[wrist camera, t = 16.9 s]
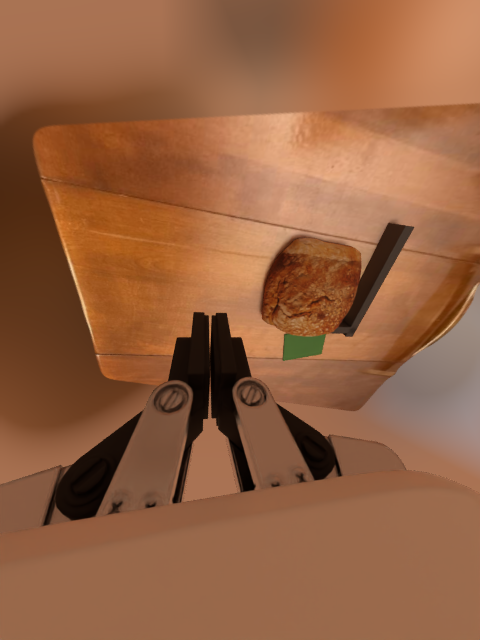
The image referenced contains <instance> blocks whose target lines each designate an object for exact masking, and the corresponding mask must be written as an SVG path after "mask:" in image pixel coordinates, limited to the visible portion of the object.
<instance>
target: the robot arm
mask: <svg viewBox="0 0 480 640" xmlns="http://www.w3.org/2000/svg"><path fill="white" fill-rule="evenodd" d="M210 377H211V411H212V413H211V414H212V418H216V423H217V426H218V429H219V430H220V431H221V432H222V433H223V434H224V435H225V436H226V442H227V447H228V451H229V456H230V460H231V465H232V469H233V473H234V478H235V482H236V487H237V491H238V493H236V494H230V495H223V496H218V497H212V498H206V499H200V500H193V501H187V502H183V499H184V494H185V488H186V484H187V478H188V473H189V467H190V462H191V456H192V451H193V446H194V440H195V439H196V438H197V437H198V436H199V434H200V433H201V432H202V431H203V419H208V406H209V386H210ZM0 640H480V493H478V492H477V491H475V490H472V489H471V488H469V487H467V486H464V485H462V484H460V483H457V482H455V481H452V480H449V479H447V478H444V477H441V476H437V475H434V474H430V473H427V472H420V471H412V470H406V468H405V466H404V464H403V463H402V461H401V460H400V459H399V457H398V455H396V454H395V453H394V452H393V451H392V450H391V449H390V448H389V447H387V446H385V445H384V444H381V443H378V442H374V441H368V440H362V439H355V438H349V437H343V436H336V435H329V436H328V437H327V436H323V435H322V434H321V433H320V432H318V431H317V430H315V429H314V428H312V427H311V426H309V425H308V424H306V423H305V422H304V421H302V420H300V419H299V418H298V417H296V416H295V415H293V414H292V413H290V412H289V411H287V410H286V409H284V408H283V407H281V406H280V405H278V404H277V403H276V402H275V400H274V398H273V396H272V394H271V392H270V390H269V388H268V387H267V385H266V384H265V383H264V382H262V381H261V380H259V379H257V378H253V377H251V373H250V369H249V365H248V361H247V357H246V353H245V349H244V345H243V341H242V338H241V337H231V335H230V329H229V324H228V318H227V313H216V316H214V315H212V323H211V345H210V348H209V315H204V313H203V312H194V315H193V324H192V334H191V337H177V340H176V344H175V349H174V354H173V359H172V364H171V369H170V374H169V379H168V382H165V383H163V384H161V385H159V386H158V387H157V388H156V389H155V390H154V391H153V392H152V394H151V395H150V397H149V399H148V401H147V404H146V406H145V408H144V410H143V411H141V412H140V413H139V414H137V415H136V416H135V417H133V418H132V419H131V420H130V421H128V422H127V423H125V424H124V425H123V426H122V427H120V428H119V429H118V430H116V431H115V432H114V433H112V434H111V435H110V436H108V437H107V438H106V439H104V440H103V441H102V442H100V443H99V444H98V445H97V446H95V447H94V448H92V449H91V450H90V451H89V452H87V453H86V454H85V455H83V456H82V457H80V458H79V459H78V460H77V461H76V462H75V463H74V464H72V465H69V466H66V467H62V466H61V465H60V466H56V467H54V468H50V469H47V470H44V471H41V472H38V473H35V474H32V475H29V476H26V477H22V478H19V479H16V480H13V481H11V482H7V483H4V484H1V485H0Z"/></svg>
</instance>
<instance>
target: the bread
mask: <svg viewBox="0 0 480 640" xmlns="http://www.w3.org/2000/svg"><path fill="white" fill-rule="evenodd" d="M360 274H361V253H360V252H359V251H358V250H357V249H355V248H354V247H351V246H346V245H340V244H335V243H329V242H324V241H321V240H318V239H315V238H300V239H295V240H294V241H293V242H292V243H291V244H290V245H289V246H288V247H287V248H286V249H285V250H284V251H283V252H282V253H281V254H280V255H279V256H278V257H277V259H276V261H275V262H274V264H273V266H272V268H271V270H270V273H269V275H268V278H267V281H266V285H265V291H264V300H263V308H262V319H263V320H264V321H265V322H267V323H268V324H270V325H274V326H276V327H277V328H278V329H280V330H281V331H284V332H286V333H288V334H291V335H296V336H311V337H312V336H319V335H323V334H329V333H331V332H333V331H334V330H335V329H336V328H338V326H339V325H340V323H341V322H342V320H343V319H344V317H345V316H346V314H347V313H348V311H349V310H350V308H351V306H352V304H353V301H354V299H355V296H356V292H357V288H358V284H359V280H360Z"/></svg>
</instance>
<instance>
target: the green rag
mask: <svg viewBox="0 0 480 640" xmlns="http://www.w3.org/2000/svg"><path fill="white" fill-rule="evenodd" d="M325 336H326V334H323V335H319V336H312V337H311V336H296V335H291V334H284V350H283V361H285V360H291V359H296V358H302V357H308V356H313V355H319V354H322V349H323V345H324V340H325Z"/></svg>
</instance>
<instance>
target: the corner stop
mask: <svg viewBox="0 0 480 640" xmlns="http://www.w3.org/2000/svg"><path fill="white" fill-rule="evenodd" d="M413 229H414V227H412V226H405V225H399V224H392V223H388V225H387V227H386V229H385V231H384V233H383V235H382V238H381V240H380V242H379V244H378V246H377V248H376V250H375V252H374V254H373V256H372V258H371V260H370V262H369V264H368V266H367V268H366V270H365V272H364V274H363V276H362V278H361V280H360V282H359V284H358V288H357V292H356V296H355V299H354V301H353V304H352V306H351V308H350V310H349V311H348V313H347V314H346V316H345V317H344V319H343V320H342V322H341V323H340V325H339V326H338V328H336V329H335V330H334V331H333V332H331V333H343V334H344V335H345V336H346V337H352V336H353V335H354V333H355V331H356V329H357V327H358V326H359V324H360V322H361V320H362V319H363V317H364V315H365V313H366V312H367V310H368V308H369V306H370V305H371V303H372V301H373V299H374V297H375V296H376V294H377V292H378V290H379V289H380V287H381V285H382V283H383V282H384V280H385V278H386V276H387V275H388V273H389V271H390V269H391V267H392V266H393V264H394V262H395V260H396V259H397V257H398V255H399V253H400V252H401V250H402V248H403V246H404V245H405V243H406V241H407V239H408V237H409V236H410V234H411V232H412V230H413Z"/></svg>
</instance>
